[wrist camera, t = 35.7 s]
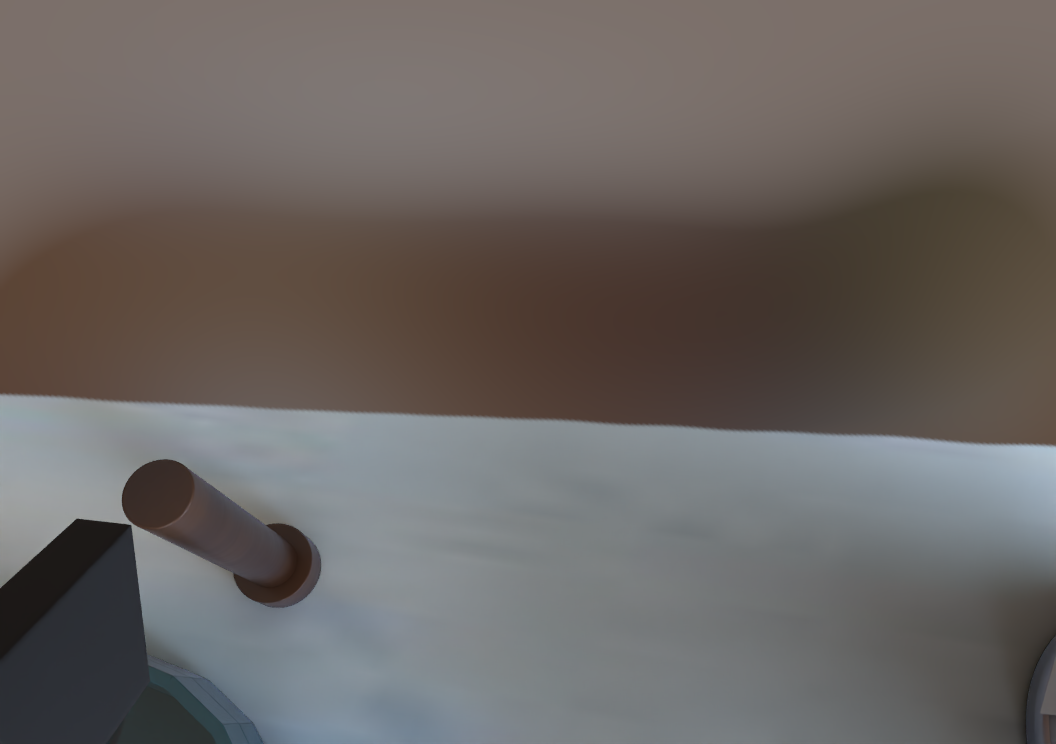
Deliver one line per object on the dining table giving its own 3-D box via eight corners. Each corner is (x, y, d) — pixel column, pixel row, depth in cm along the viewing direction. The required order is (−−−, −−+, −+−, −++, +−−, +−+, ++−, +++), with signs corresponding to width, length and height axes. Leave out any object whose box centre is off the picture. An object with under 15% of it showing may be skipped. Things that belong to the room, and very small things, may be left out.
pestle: (336, 570, 43) (238, 495, 28) (275, 624, 41) (140, 576, 27) (290, 516, 44) (173, 416, 29) (230, 567, 43) (76, 491, 28)
